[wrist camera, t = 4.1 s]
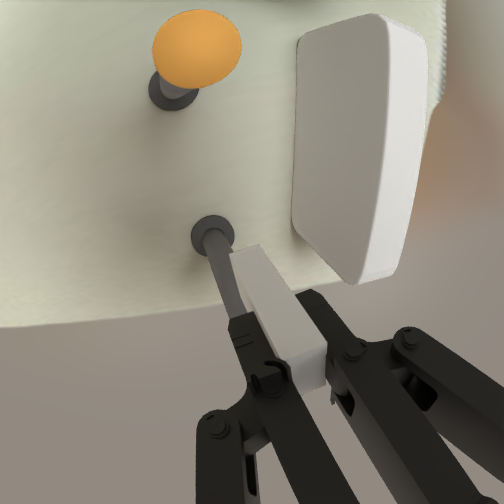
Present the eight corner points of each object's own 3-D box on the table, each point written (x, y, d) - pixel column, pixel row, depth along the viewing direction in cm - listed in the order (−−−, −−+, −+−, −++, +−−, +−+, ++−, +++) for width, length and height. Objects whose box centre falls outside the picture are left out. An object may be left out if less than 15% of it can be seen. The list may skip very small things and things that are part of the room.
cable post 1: (144, 72, 27) (112, 7, 7) (193, 59, 28) (255, -19, 8) (155, 116, 30) (140, 133, 10) (202, 103, 31) (280, 99, 11)
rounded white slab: (331, 221, 45) (405, 281, 31) (289, 226, 43) (356, 296, 29) (343, 45, 31) (440, 35, 16) (296, 36, 29) (388, 8, 14)
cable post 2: (186, 222, 38) (225, 365, 18) (227, 209, 39) (307, 335, 19) (197, 258, 41) (243, 403, 21) (236, 246, 42) (310, 377, 22)
